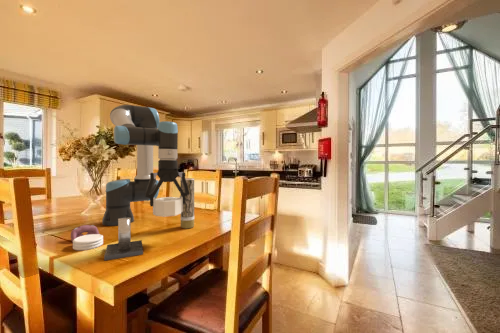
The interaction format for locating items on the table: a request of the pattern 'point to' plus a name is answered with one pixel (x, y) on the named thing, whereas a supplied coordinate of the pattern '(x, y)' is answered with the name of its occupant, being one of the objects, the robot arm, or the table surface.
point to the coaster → (87, 242)
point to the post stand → (123, 242)
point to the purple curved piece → (86, 228)
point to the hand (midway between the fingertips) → (167, 212)
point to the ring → (167, 206)
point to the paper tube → (188, 205)
